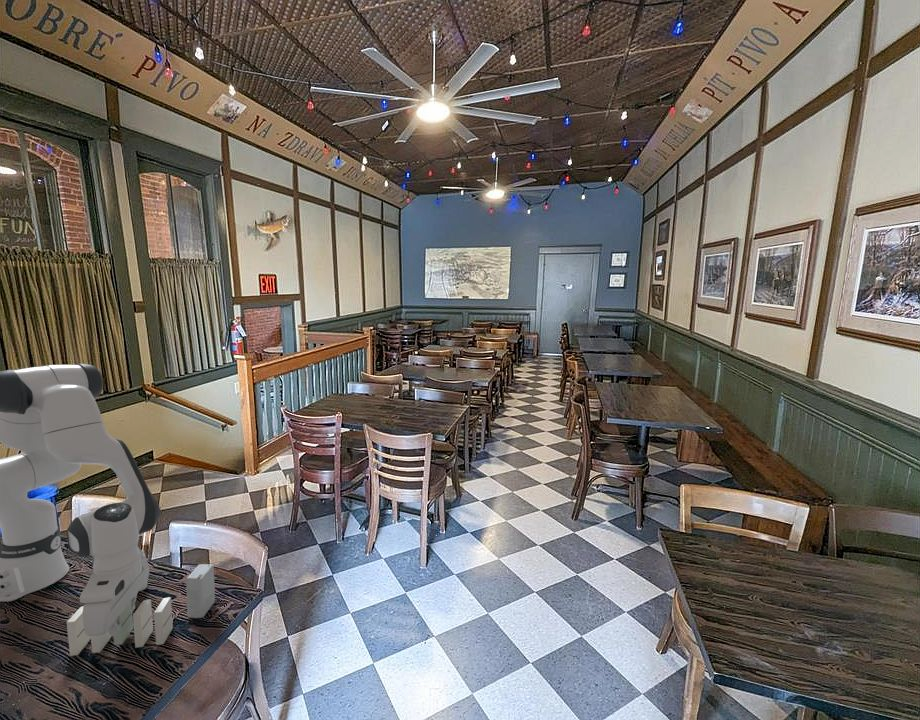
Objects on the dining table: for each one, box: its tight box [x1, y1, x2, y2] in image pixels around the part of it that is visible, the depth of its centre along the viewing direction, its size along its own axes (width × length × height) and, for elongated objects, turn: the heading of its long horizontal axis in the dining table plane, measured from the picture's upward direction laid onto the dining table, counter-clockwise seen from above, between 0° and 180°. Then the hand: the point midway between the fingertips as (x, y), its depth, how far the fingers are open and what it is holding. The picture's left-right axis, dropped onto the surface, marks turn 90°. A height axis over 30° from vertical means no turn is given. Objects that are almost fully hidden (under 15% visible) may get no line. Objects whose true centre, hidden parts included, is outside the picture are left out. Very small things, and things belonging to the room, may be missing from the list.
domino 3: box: [132, 599, 154, 649], centre depth 102 cm, size 2×5×9 cm, turn 13°
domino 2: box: [90, 631, 113, 654], centre depth 100 cm, size 2×5×9 cm, turn 13°
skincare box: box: [185, 563, 216, 619], centre depth 111 cm, size 6×4×12 cm
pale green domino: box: [112, 601, 134, 646], centre depth 101 cm, size 2×5×9 cm, turn 13°
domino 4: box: [153, 596, 174, 646], centre depth 103 cm, size 2×5×9 cm, turn 13°
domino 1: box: [66, 605, 91, 657], centre depth 99 cm, size 2×5×9 cm, turn 13°
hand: (122, 621), depth 101 cm, fingers closed on pale green domino, 5 cm apart
